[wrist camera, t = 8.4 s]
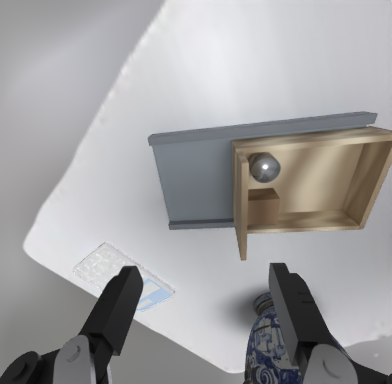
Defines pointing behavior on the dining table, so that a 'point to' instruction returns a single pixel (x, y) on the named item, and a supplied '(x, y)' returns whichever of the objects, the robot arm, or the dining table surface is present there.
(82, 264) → the white flat textured slab
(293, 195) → the wooden drawer
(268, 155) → the grey ball
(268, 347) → the decorative vase
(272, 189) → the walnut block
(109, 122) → the dining table surface
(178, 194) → the rail board
